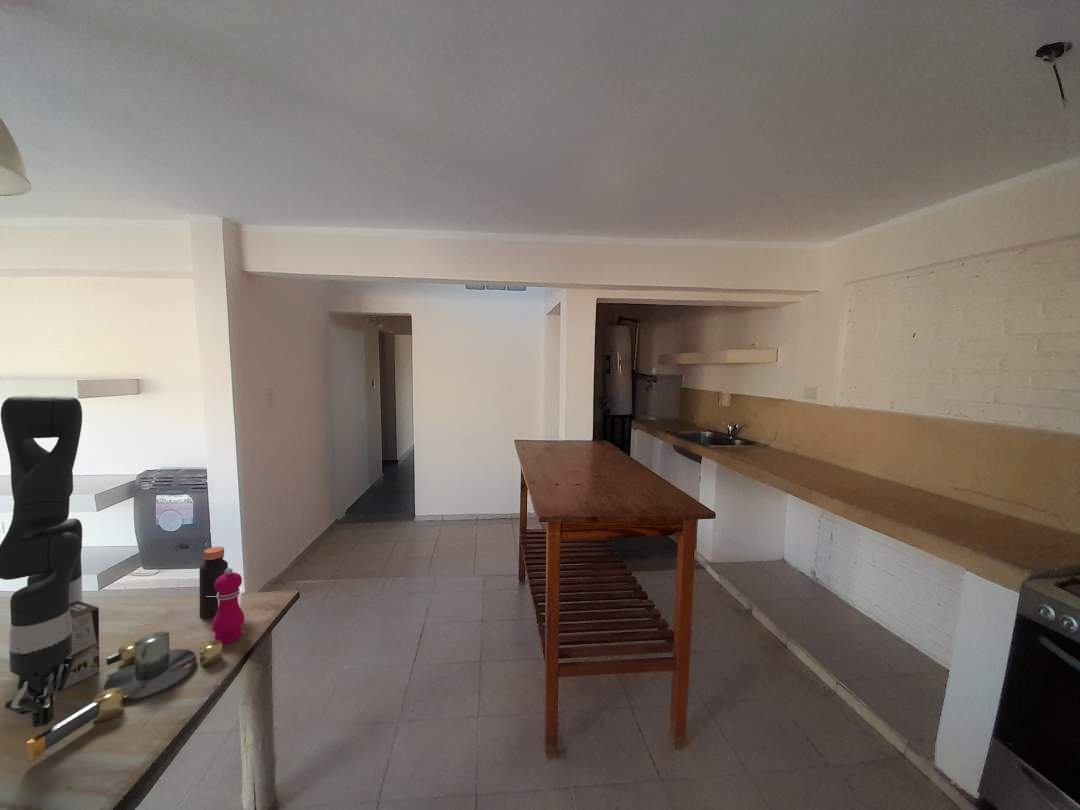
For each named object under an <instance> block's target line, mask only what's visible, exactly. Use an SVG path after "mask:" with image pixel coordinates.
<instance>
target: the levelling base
mask: <svg viewBox="0 0 1080 810" xmlns="http://www.w3.org/2000/svg"><path fill="white" fill-rule="evenodd" d="M117 651H118V652H116V653H114V654H112V655H110V656H107V657H106V665H107V666H110V665H112V664H114V663H116V662H118V663H117V665H118V668H119V670H117V671H116V672H114V673H113V674H112V675H111V676H110V677H109V678H108V680H106V682H105V684H104V687H103V692H104V691H106V690H108V689H112V688H117V687H120V688H122V689H123V704H128V703H135V702H139V701H143V700H147V699H150V698H152V697H153V698H154V697H156V696H158V695H160V694H163V693H164V692H167V691H169V690H171V689H173V688H174V687H176V686H178V685H179V684H181V683H182V682H184V680H186V679H187V678H188V677H189V676H190V675H192V673H193V672H194V670H195V669H196V665H197V655H196V653H195V652H194V651H192V650H189V649H185V648H177V649H176V648H175V649H170V633H169V632H168V631H158V632H157V631H156V632H153V633H149V634H146V635H144V636H142V637H141V638H139V639H137V640H136V641H135V640H134V641H132V642H129V643H126V644H123V645H122V646H121V647H119V648H118V650H117ZM222 659H223V644H222V641H220V640H215V638H214V637H211V638H210V639H209V641H208V642H206V643H204V644H202V645H201V646H200V649H199V665H200V666H201V667H203V668H204V667H206V668H207V667H212V666H213V665H216V664H217V663H219V662H221V660H222Z"/></svg>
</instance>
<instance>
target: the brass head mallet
mask: <svg viewBox="0 0 1080 810" xmlns="http://www.w3.org/2000/svg"><path fill="white" fill-rule="evenodd" d="M123 710H124V703H123V689H122V688H120V687H117V688H112V689H108V690H106V691H104V690H103V691H102V692H100V693H99V694H97V695H96V696H95V697H94V698H93V700H92V703H90V704H88V705H87V706H85V707H83V708H81V709H80V710H78V711H77V712H75V713H74V714H72V715H70V716H69V717H67V718H65V719H64V720H62V721H61V722H59V723H57V724H56V725H54V726H53V727H51V728H49V729H47V730H46V731H44V732H43V733H41V734H38V735H36V736H35V737H33V738H31V739H29V740H28V741H27V744H26V745H27V749H26V751H27V753H26V754H27V758H30V759H35V758H37V757H38V756H40V755H42V754H43V753H45V752H46V750H48V749H49V748H51V747H53V746H55V744H57V743H59V742H60V741H62V740H63V739H65V738H67V737H68V736H69V735H71V734H73V733H75V732H76V731H77V730H79V729H80V728H82V727H83V726H85V725H87V724H88V723H90V722H91V721H94V722H98V723H99V722H103V721H107V720H109V719H112V718H114V717H116V716H117V715H119V714H120V713H121V712H122V711H123Z"/></svg>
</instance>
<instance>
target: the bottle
mask: <svg viewBox="0 0 1080 810" xmlns="http://www.w3.org/2000/svg"><path fill="white" fill-rule="evenodd" d="M224 557H225V547H224V546H212V547H208V548H207V549H205V550H203V561H204V562H203V564H202V565H201V566H199V617H200V618H201V619H204V618H205V619H207V618H209V619H214V617H215V615H216V613H217V611H218V608H219V605H218V599H217V597H206V596H217V593H218V591H216V589H215V582H216V580H217V579H218V578H219V577H220V576H221V575H223V574H225V570H226V569H228V568H229V562H228V561H227V560H225V559H224Z"/></svg>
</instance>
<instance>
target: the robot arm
mask: <svg viewBox="0 0 1080 810" xmlns="http://www.w3.org/2000/svg"><path fill="white" fill-rule="evenodd" d="M0 420H1V421H0V422H1V423H0V424H1V427H2V432H3V435H4V440H5V443H6V448H7V450H8V451H7V452H8V456H9V463H10V464H9V465H10V482H11V483H10V484H11V485H10V486H11V492H12V499H13V510H12V517H11V518H12V519H11V521H10V522H11V523H10V525H9V527H8V530H7V533H6V534H5V535H4V538H2V541H1V543H0V579H1V580H3V581H4V580H5V581H7V580H8V581H9V580H11V581H12V580H17V579H22V578H26V577H27V580H26V586H24V587H22V588H19V589H18V590H16V591H15V592H14V593H13V594H12V595H11V597H10V602H9V603H10V608H9V609H10V627H9V635H8V647H9V649H8V650H9V651H8V652H9V653H8V654H9V671H10V673H12V674H13V675H16V676H18V682H17V685H16V686H17V687H16V688H17V690H18V692H17V694H16V696H15V698H14V699H10V700H8V701H7V702H6V704H5V705H4V708H5V709H7V710H9V711H11V712H13V713H16V714H18V715H20V716H24V715H29V714H32V717H31V719H32V727H34V728H40V727H45V726H47V725H49V724H50V723H51V722H52V720H53V719H54V718H55V701H56V700H57V698H58V693H59V692H62V691H63V690H64V689H65V688H64V686H65V683H66V680H67V678H68V675H69V672H70V670H71V667H72V665H73V662H74V659H75V657H68V656H69V655H70V653H71V652H72V625H71V615H70V611H69V604H70V603H72V602H75V601H80V602H83V574H82V573H83V572H82V571H83V569H82V548H83V524H82V522H81V520H79V519H78V518H69V514H70V502H71V500H70V497H71V495H72V494H73V491H74V481H73V480H74V473H73V469H74V467H75V466H74V465H75V463H76V458H77V453H78V448H79V443H80V437H81V432H82V426H83V407H82V405H81V402H80V401H79V399H78V398H76V397H74V396H66V395H65V396H63V395H55V396H54V395H13V396H10V397H7V398H6V399H5V400H4V401H3V403H2V404H1V407H0ZM49 438H50V439H52V438H54V439H55V438H58V439H57V442H56V444H55V445H54V447H53V448H52V449H51V451H49V450H47V449H45V448H44V447H42V446H41V445H40V444H39V443H38V442H37V441H36V439H49Z"/></svg>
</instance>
